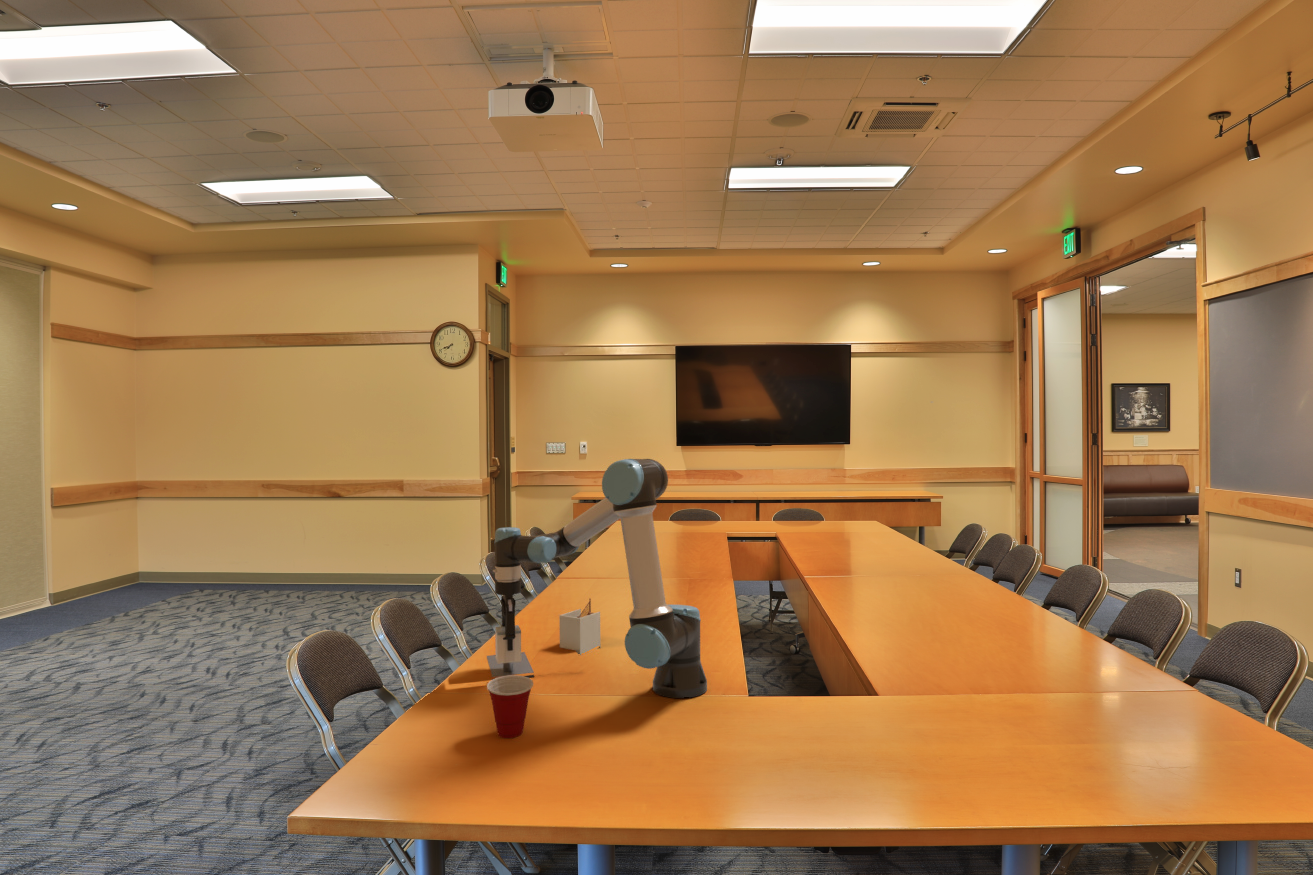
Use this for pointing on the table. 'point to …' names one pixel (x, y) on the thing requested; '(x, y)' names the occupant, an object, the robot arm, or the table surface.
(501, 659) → the white block
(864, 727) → the table surface
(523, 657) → the post base
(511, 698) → the plastic cup
